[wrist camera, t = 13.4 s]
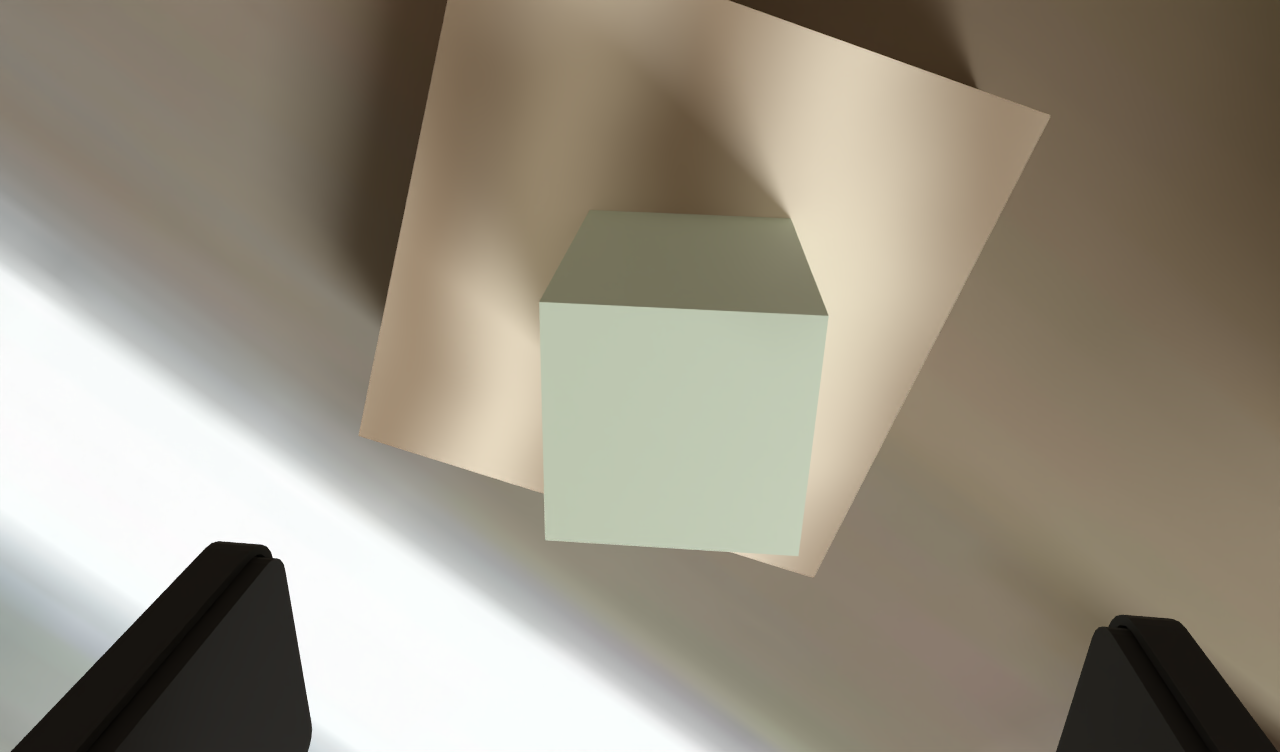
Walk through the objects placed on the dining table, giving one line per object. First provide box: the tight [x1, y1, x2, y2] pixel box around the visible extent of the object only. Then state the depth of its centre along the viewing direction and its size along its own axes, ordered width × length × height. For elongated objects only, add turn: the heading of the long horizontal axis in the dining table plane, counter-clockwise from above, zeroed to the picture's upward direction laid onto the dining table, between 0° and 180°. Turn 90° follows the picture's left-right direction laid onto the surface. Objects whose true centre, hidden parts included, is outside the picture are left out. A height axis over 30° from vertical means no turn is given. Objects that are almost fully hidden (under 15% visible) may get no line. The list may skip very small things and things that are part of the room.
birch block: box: [359, 0, 1051, 578], centre depth 24 cm, size 14×14×6 cm
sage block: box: [539, 210, 829, 556], centre depth 19 cm, size 5×5×7 cm
